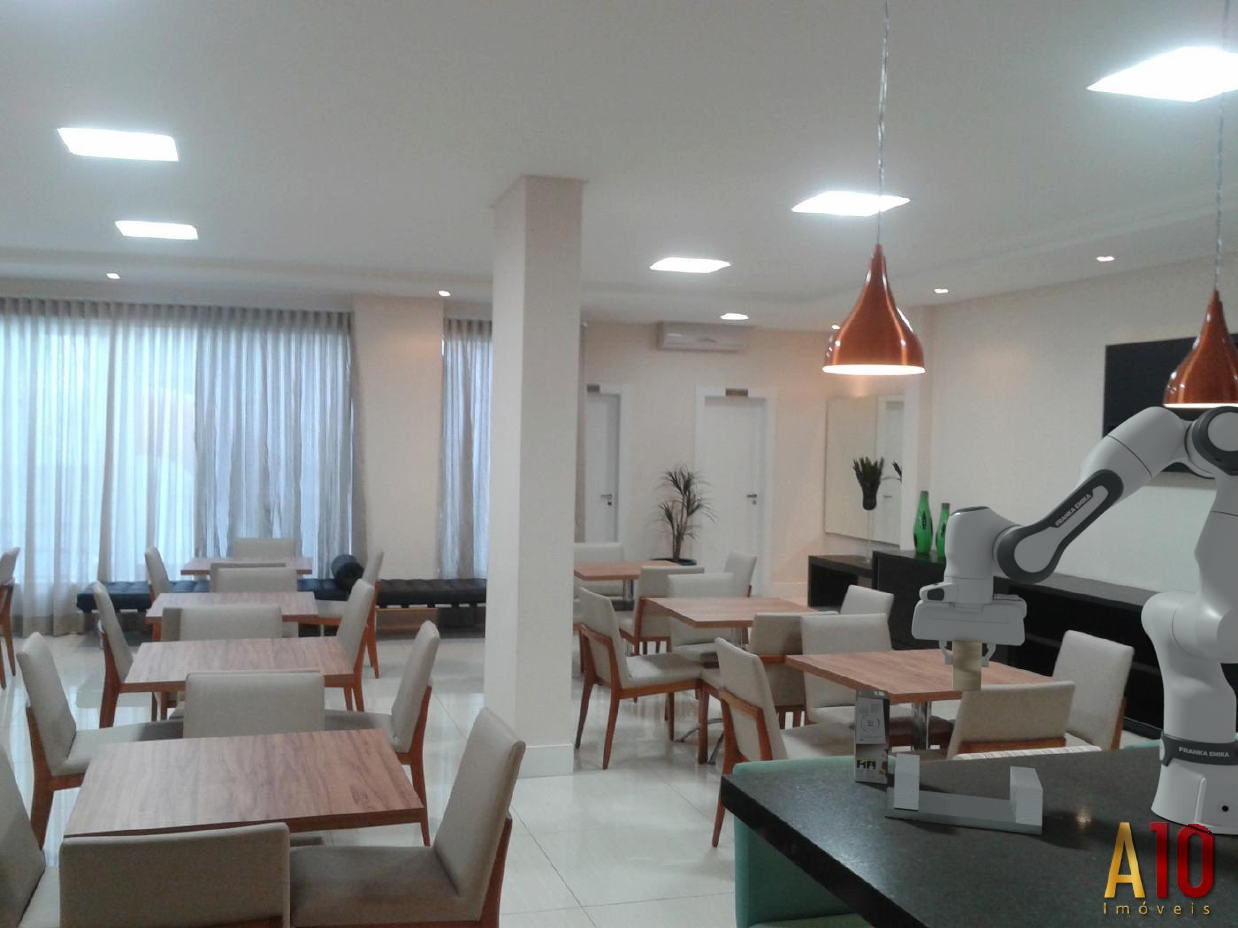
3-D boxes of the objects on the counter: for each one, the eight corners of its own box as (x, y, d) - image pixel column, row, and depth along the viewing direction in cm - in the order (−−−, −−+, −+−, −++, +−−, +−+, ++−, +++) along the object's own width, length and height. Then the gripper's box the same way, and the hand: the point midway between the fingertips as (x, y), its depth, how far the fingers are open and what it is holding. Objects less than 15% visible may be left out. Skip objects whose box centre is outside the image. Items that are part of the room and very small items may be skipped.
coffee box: (888, 784, 200) (890, 698, 200) (853, 781, 201) (856, 696, 202) (886, 771, 209) (888, 689, 209) (852, 768, 210) (855, 687, 210)
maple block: (979, 685, 202) (980, 638, 202) (980, 692, 196) (982, 643, 196) (951, 683, 204) (952, 636, 204) (952, 690, 197) (953, 641, 197)
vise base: (1033, 811, 186) (1034, 768, 186) (1041, 834, 174) (1042, 788, 174) (887, 795, 193) (888, 753, 193) (884, 816, 181) (885, 772, 181)
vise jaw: (918, 788, 192) (919, 755, 192) (918, 809, 179) (919, 774, 179) (895, 786, 193) (896, 753, 193) (893, 807, 180) (894, 771, 180)
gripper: (1025, 593, 200) (1023, 666, 200) (912, 587, 206) (911, 659, 206) (1028, 597, 194) (1026, 672, 194) (912, 590, 200) (910, 664, 199)
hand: (966, 665), depth 200 cm, fingers closed on maple block, 5 cm apart
